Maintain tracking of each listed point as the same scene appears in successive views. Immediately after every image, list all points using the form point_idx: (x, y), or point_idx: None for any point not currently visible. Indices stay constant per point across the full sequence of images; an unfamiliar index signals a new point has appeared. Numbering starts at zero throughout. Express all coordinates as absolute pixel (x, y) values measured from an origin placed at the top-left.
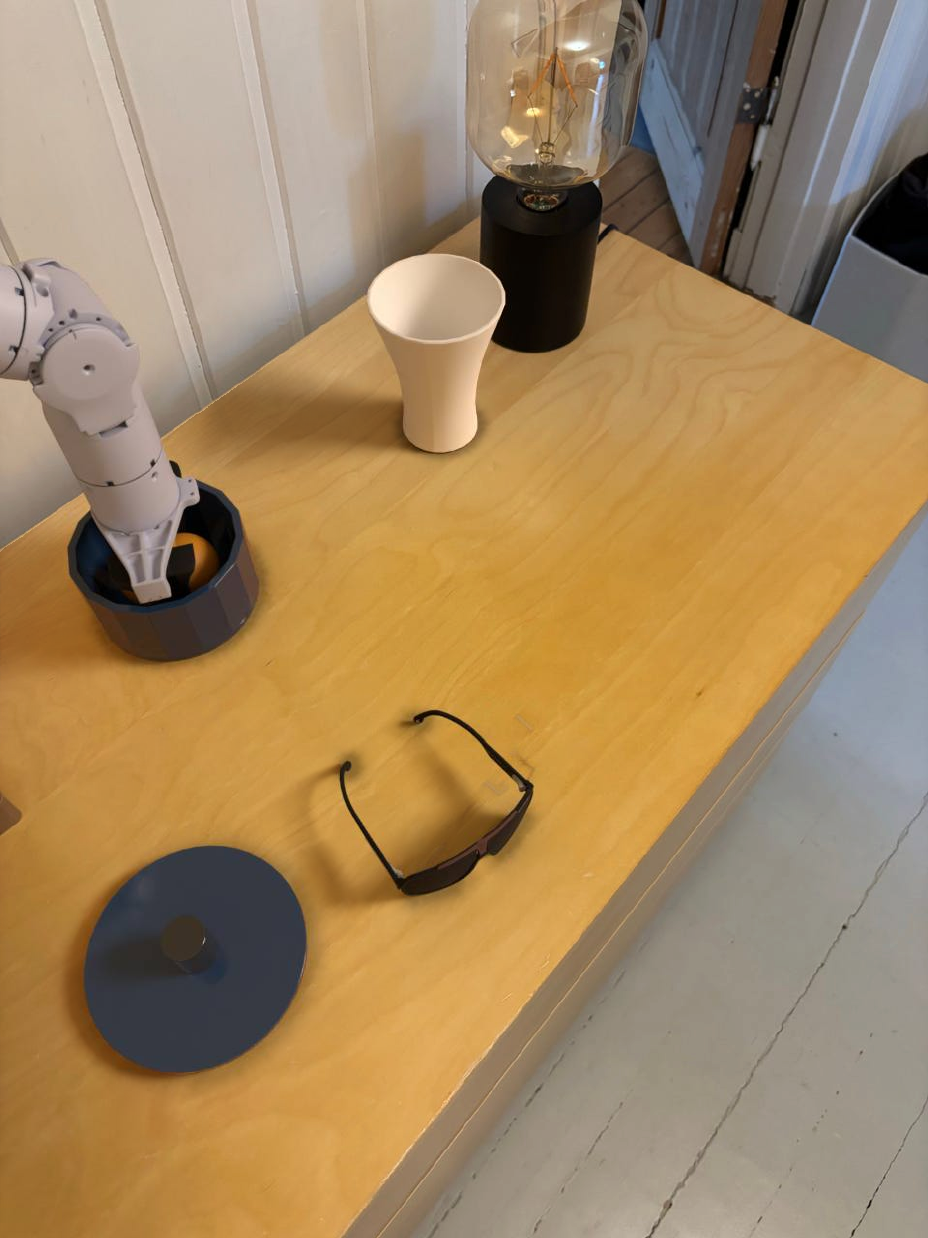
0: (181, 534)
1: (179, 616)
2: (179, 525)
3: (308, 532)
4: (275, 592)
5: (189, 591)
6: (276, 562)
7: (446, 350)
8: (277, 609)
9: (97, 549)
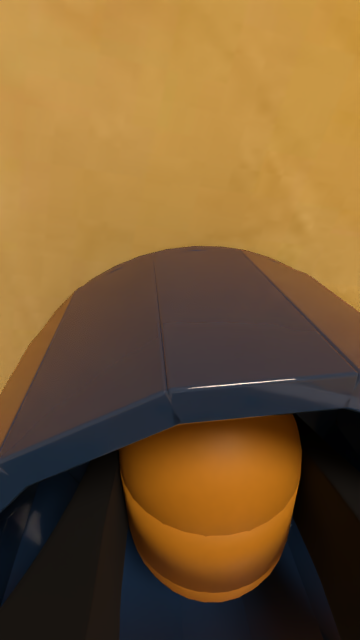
0: (165, 510)
1: None
2: (109, 502)
3: (53, 51)
4: (259, 206)
5: (354, 467)
6: (160, 189)
7: None
8: (312, 208)
9: (126, 593)
